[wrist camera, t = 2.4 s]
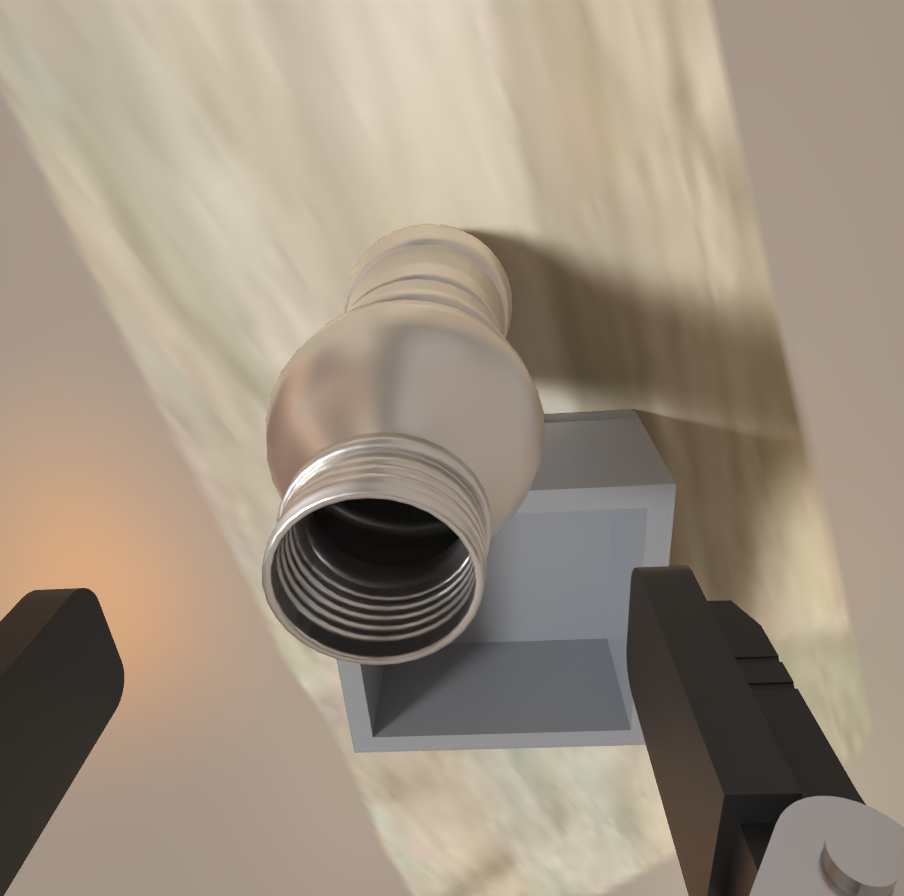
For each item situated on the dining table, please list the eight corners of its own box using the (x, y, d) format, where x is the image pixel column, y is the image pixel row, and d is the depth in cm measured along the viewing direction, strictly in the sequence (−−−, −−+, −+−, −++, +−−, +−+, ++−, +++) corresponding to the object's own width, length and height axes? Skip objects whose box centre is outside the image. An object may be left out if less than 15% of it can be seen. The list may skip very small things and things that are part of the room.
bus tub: (338, 425, 32) (306, 501, 25) (634, 409, 31) (676, 483, 25) (373, 647, 38) (354, 752, 32) (620, 638, 37) (651, 744, 31)
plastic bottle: (328, 254, 28) (80, 495, 10) (476, 187, 27) (491, 327, 9) (393, 385, 31) (287, 762, 13) (531, 330, 29) (629, 664, 11)
